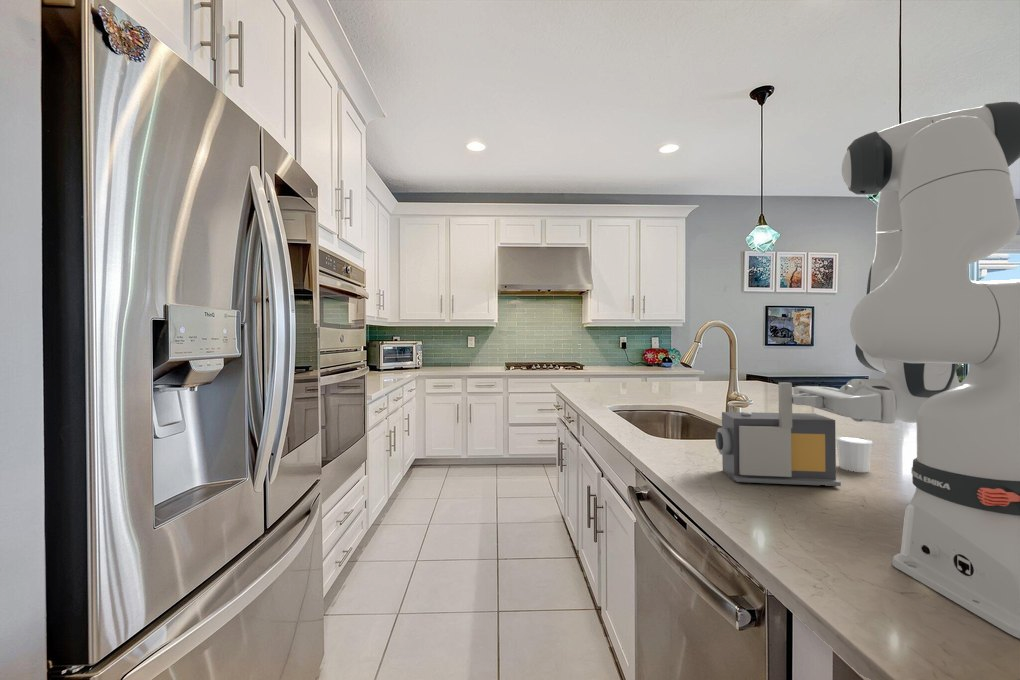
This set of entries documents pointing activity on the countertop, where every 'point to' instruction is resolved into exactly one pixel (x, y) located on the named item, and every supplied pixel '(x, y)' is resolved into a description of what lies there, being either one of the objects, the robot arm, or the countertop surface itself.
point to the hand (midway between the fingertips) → (790, 399)
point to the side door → (768, 442)
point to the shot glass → (854, 453)
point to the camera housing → (808, 447)
